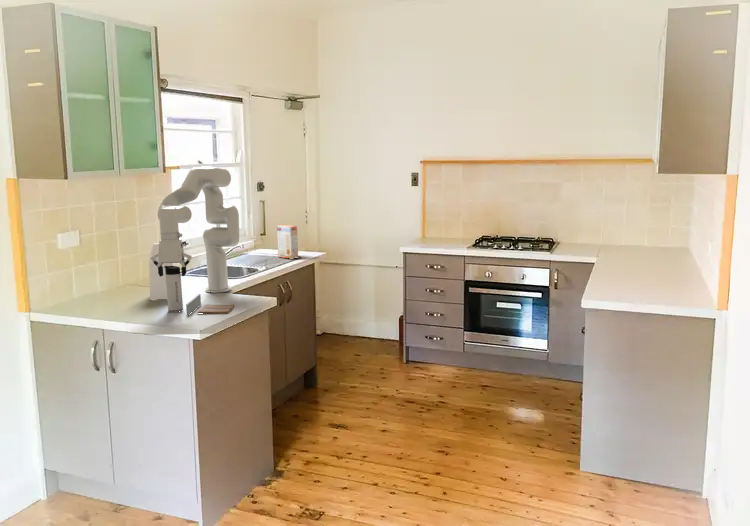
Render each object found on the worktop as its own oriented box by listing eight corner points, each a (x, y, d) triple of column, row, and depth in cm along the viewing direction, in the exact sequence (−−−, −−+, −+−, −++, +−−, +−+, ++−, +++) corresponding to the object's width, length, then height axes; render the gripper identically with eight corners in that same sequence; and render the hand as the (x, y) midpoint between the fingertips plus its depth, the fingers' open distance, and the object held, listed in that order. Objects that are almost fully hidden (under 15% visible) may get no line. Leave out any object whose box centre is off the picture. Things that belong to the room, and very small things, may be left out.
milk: (177, 293, 328) (174, 241, 324) (176, 298, 317) (172, 244, 313) (152, 295, 326) (147, 242, 321) (150, 300, 315) (145, 245, 310)
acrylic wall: (199, 304, 304) (198, 294, 303) (201, 304, 304) (200, 294, 303) (186, 315, 284) (186, 304, 283) (188, 315, 284) (188, 304, 283)
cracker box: (298, 258, 425) (297, 226, 422) (291, 260, 421) (289, 226, 418) (285, 256, 435) (284, 224, 432) (278, 257, 431) (276, 225, 428)
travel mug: (170, 309, 296) (166, 264, 293) (185, 309, 296) (181, 264, 292) (165, 312, 290) (162, 267, 286) (180, 312, 290) (177, 267, 286)
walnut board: (205, 307, 299) (205, 304, 299) (234, 306, 299) (234, 304, 299) (197, 314, 286) (197, 311, 286) (228, 313, 286) (227, 311, 286)
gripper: (192, 235, 291) (194, 273, 294) (152, 235, 291) (155, 274, 294) (187, 237, 283) (190, 277, 286) (146, 238, 284) (149, 277, 286)
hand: (172, 275), depth 290 cm, fingers open, 9 cm apart
